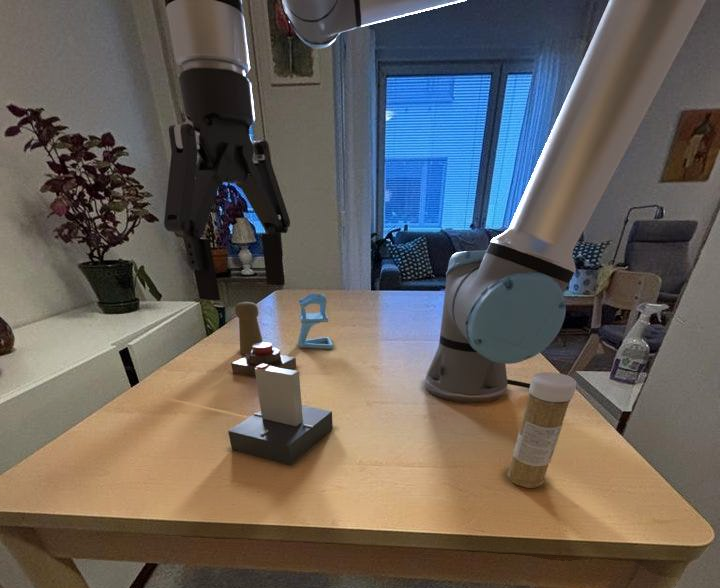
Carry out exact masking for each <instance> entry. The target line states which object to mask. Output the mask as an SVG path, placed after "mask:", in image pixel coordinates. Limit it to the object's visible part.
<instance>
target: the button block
mask: <svg viewBox="0 0 720 588" xmlns="http://www.w3.org/2000/svg"><path fill="white" fill-rule="evenodd" d="M272 350H273V353H271V354H267V355H256V354H253V348H252V349H250V350H247V352H246V355H245V356H244V357H242V358H240V359H238V360H235V361H232V362H231V363H230V364H231V369H232V373H233V374H235V375H242V376H246V377H253V378H256V374H255V368H256V367H257V366H259V365H261V364H268V365H269V366H272V367H278V368H284V369H289V370H295V369H296V368H297V358H296V357H294V356H290V355H289V356H288V355H283V354H282V355H281V349H279V348H277V347H273V346H272Z"/></svg>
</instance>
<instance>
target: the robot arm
mask: <svg viewBox="0 0 720 588" xmlns="http://www.w3.org/2000/svg"><path fill="white" fill-rule="evenodd" d="M465 1H466V0H281V2H282V7H283V11H284V12H285V15H286V18H287V21H288V23H289V25H290V26H291V29H292V30H293V31H294V32H295V34H296V35H297V36H298V38H299V40H301V41H302V43H304V44H305V45H307V47H309V48H312V49H317V50H319V49H321V50H322V49H325V48H328V47H329V46H331V45H332V44H333V43H334V42H335V41H336V40H337V39H338V37H339V36H340V34H341V33H345V32H349V31H353V30H355V29H359V28H364V27H367V26H371V25H374V24H378V23H383V22H386V21H390V20H393V19H398V18H403V17H405V16H409V15H414V14H418V13H421V12H425V11H430V10H433V9H438V8H441V7H445V6H449V5H453V4H457V3H461V2H465ZM706 2H707V0H608V3H607V5H606V7H605V10H604V12H603V14H602V17H601V18H600V21H599V23H598V25H597V28H596V29H595V33H594V34H593V37H592V39H591V41H590V43H589V45H588V48H587V50H586V52H585V55H584V57H583V59H582V62H581V64H580V66H579V68H578V71H577V72H576V75H575V78H574V80H573V82H572V84H571V86H570V89H569V91H568V93H567V96H566V98H565V100H564V102H563V105H562V107H561V109H560V112H559V114H558V116H557V118H556V120H555V123H554V125H553V128H552V129H551V132H550V133H549V134H550V135H549V137H548V138H547V141H546V143H545V145H544V148H543V150H542V152H541V155H540V157H539V159H538V161H537V163H536V166H535V168H534V171H533V173H532V175H531V177H530V180H529V182H528V184H527V186H526V188H525V191H524V193H523V195H522V197H521V200H520V202H519V205H518V207H517V209H516V211H515V213H514V215H513V218H512V220H511V223H510V225H509V227H508V228H507V229H506V230H505V231H504V232H502V233H501V234H499V235H497V236H495V237H493V238H492V239H491V240H490V242H489V245H488V246H487V249H486V250H470V251H469V250H465V251H459V252H455V253H454V254H452V255H451V257H450V258H449V261H448V266H447V271H446V272H445V279H446V280H445V288H444V289H445V290H444V299H443V307H442V316H441V324H440V331H439V332H440V333H439V342H438V346H437V348H436V352H435V354H434V356H433V359H432V360H431V363H430V364H429V367H428V370H427V371H426V374H425V378H424V379H425V381H424V387H425V388H424V389H425V390H426V391H427V392H428V393H430V394H431V395H433V396H435V397H436V398H439V399H442V400H446V401H450V402H456V403H461V404H486V403H491V402H496V401H498V400H500V399H503V397H505V396H506V393H507V389H508V385H509V386H515V387H520V388H526V389H529V388H530V384H531V383H528V382H523V381H519V380H514V379H508V375H507V374H508V373H507V365H510V364H511V365H512V364H518V363H522V362H524V361H526V360H529V359H531V358H534V357H535V356H538V355H539V354H540V353H542V352H543V351H544V350H545V349H546V348H548V347H549V346H550V345H551V343H553V341H554V340H555V338H556V337H557V336H558V334H559V333H560V331H561V329H562V327H563V324H564V322H565V319H566V311H567V306H566V300H565V294H564V293H565V292H566V289H567V288H568V286H569V284H570V282H571V280H572V279H573V277H574V275H575V273H576V271H577V267H576V264H575V260H574V255H573V253H574V249H575V247H576V245H577V244H578V242H579V240H580V238H581V236H582V234H583V233H584V231H585V228H586V227H587V225H588V224H589V221H590V219H591V217H592V216H593V213H594V212H595V210H596V208H597V206H598V204H599V203H600V201H601V198H602V196H603V195H604V193H605V191H606V190H607V187H608V185H609V184H610V181H611V180H612V178H613V176H614V174H615V172H616V171H617V169H618V167H619V165H620V163H621V161H622V160H623V158H624V156H625V153H626V152H627V150H628V148H629V147H630V144H631V142H632V140H633V139H634V137H635V135H636V133H637V131H638V129H639V127H640V125H641V124H642V121H643V120H644V118H645V116H646V114H647V112H648V110H649V108H650V107H651V104H652V103H653V101H654V99H655V98H656V95H657V93H658V91H659V90H660V88H661V86H662V84H663V82H664V80H665V78H666V76H667V75H668V73H669V71H670V69H671V67H672V66H673V63H674V61H675V60H676V58H677V56H678V54H679V52H680V50H681V49H682V47H683V45H684V43H685V41H686V38H687V37H688V35H689V33H690V32H691V30H692V28H693V26H694V23H695V22H696V20H697V18H698V16H699V15H700V13H701V11H702V9H703V7H704V5H705V3H706ZM164 4H165V5H164V6H165V10H166V16H167V22H168V27H169V32H170V33H169V34H170V38H171V43H172V49H173V55H174V59H175V64H176V65H177V66H178V67H179V68H180V69H181V70H182V71H181V72H180V74H179V77H178V83H179V89H180V94H181V101H182V106H183V111H184V116H185V118H186V119H187V120H188V121H189V122H191V123H180V124H172V125H170V126H169V127H168V136H169V143H170V150H171V155H170V163H169V165H170V166H169V174H168V181H167V190H166V191H167V192H166V200H165V208H164V219H163V226H164V228H165V229H166V231H167V232H173V233H174V235H175V236H176V237H177V238H182V239H183V242H184V247H185V252H186V253H185V254H186V257H187V262H188V266H189V268H190V270H191V271H193V273H194V278H195V283H196V288H197V292H198V293H197V294H198V297H199V298H198V299H199V300H206V301H216V302H217V301H220V300H221V296H220V289H219V284H218V279H217V273H216V267H215V261H214V255H213V251H212V245H211V240H210V238H209V237H208V238H207V237H206V238H205V237H203V235H204V232H205V229H206V226H207V224H208V219H209V217H210V214H211V211H212V209H213V206H214V203H215V199H216V196H217V194H218V190H219V188H220V186H222V185H223V184H224V183H227V184H235V185H236V187H237V188H238V189H240V190H241V191H242V192H243V195H244V196H245V198H246V200H247V202H248V203H249V205H250V207H251V208H252V210H253V212H254V214H255V216H256V217H257V219H258V220H259V222H260V224H261V226H262V227H263V229H264V231H265V233H263V232H262V233H261V234H260V236H261V244H262V252H263V259H264V260H263V261H264V269H265V270H264V271H265V279H266V285H271V286H281V287H282V286H285V283H286V282H285V274H284V261H283V257H284V251H283V241H282V234H287V233H288V230H289V228H290V226H291V219H290V217H289V213H288V210H287V207H286V204H285V200H284V198H283V195H282V192H281V189H280V186H279V182H278V179H277V176H276V173H275V170H274V167H273V164H272V159H271V152H270V151H271V150H270V144H269V143H268V140H266V139H265V140H252V138H251V134H250V129H251V126H252V125H253V124H254V123H255V120H256V116H255V115H256V114H255V106H254V98H253V89H252V88H253V87H252V82H250V81H251V80H249V78H248V77H247V76H246V75H247V74H248V73H249V71H250V69H251V64H250V55H249V47H248V40H247V31H246V23H245V15H244V6H243V0H164ZM198 156H199V157H198Z"/></svg>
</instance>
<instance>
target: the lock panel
mask: <svg viewBox="0 0 720 588" xmlns="http://www.w3.org/2000/svg"><path fill="white" fill-rule="evenodd" d="M302 414H303V422H302V423H301V424H299V425H298V426H292V425H288V424H284V423H279V422H275V421H270V420H266V419H262V415H261V410H259V411H257V412H254V413H253V415H251V416H250V417H248V418H247V419H246V418H245V420H243V421H241V422H240V423H239V424H238V423H237V424H236V425H235V426H233V427H232V428H230V429H229V430H228V431H227V433H228V436H229V437H228V438H229V442H230V443H229V444H230V447H231V450H232V451H235V452H239V453H244V454H248V455H250V456H251V455H252V456H254V457H257V458H262V459H266V460H269V461H273V462H277V463H281V464H284V465H288V466H292V465H293V464H294V463H295V462H296V461H297V460H299V459H300V458H301V457H302V456H304V455H305V454H306V453H307V452H308V451H309V450H310V449H311V448H313V447H314V445H316V444H317V443H318V442H319V441H320V440H322V439H323V438H324V437H325V436H326V435H327V434H329V432H331V431H332V430H333V427H334V426H333V411H332V410H329V409H323V408H318V407H313V406H308V405H304V404H302Z"/></svg>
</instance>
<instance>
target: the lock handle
mask: <svg viewBox="0 0 720 588" xmlns="http://www.w3.org/2000/svg"><path fill="white" fill-rule="evenodd" d="M255 374H256V377H255V381H256V387H257V393H258V401H259V407H260V411H261V415H262V419H266V420H270V421H275V422H279V423H284V424H288V425H292V426H298V425H299V424H301V423H302V422H303V414H302V405H303V403H302V392H301V380H300V370H295V369H292V370H289V369H284V368H278V367H272V366H269V365H268V364H261V365H259V366H257V367H256V368H255Z"/></svg>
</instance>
